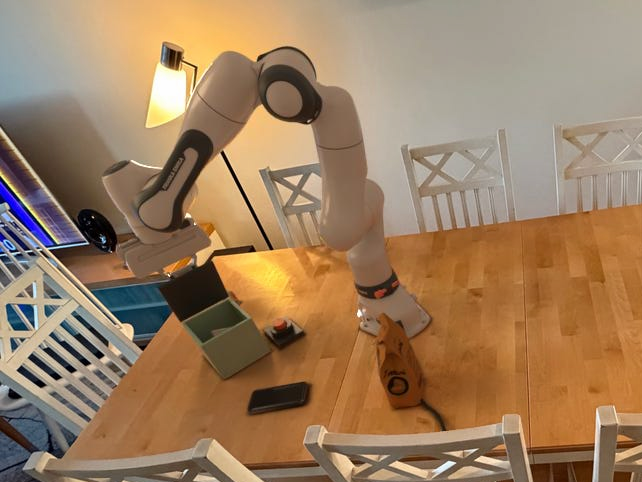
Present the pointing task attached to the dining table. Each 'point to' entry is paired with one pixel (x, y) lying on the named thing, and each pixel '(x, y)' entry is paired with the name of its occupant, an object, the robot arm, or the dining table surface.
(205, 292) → the lid
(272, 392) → the phone
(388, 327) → the coffee package
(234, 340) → the green box
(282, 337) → the block
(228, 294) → the lion figurine
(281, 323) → the button
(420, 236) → the dining table surface
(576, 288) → the dining table surface
